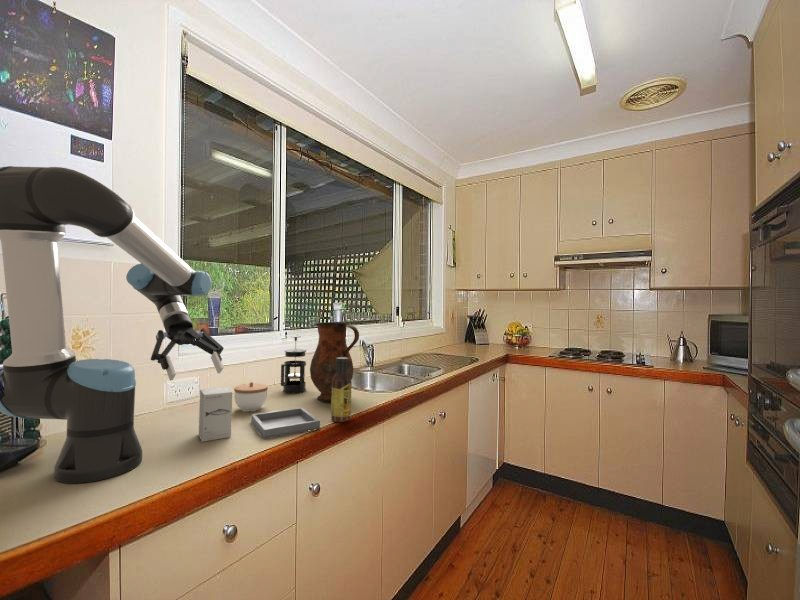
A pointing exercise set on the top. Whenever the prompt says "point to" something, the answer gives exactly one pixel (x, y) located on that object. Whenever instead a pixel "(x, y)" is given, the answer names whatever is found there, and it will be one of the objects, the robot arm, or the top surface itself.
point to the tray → (284, 422)
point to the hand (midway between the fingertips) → (198, 373)
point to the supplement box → (215, 413)
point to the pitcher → (330, 356)
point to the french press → (294, 385)
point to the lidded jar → (250, 396)
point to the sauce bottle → (341, 392)
